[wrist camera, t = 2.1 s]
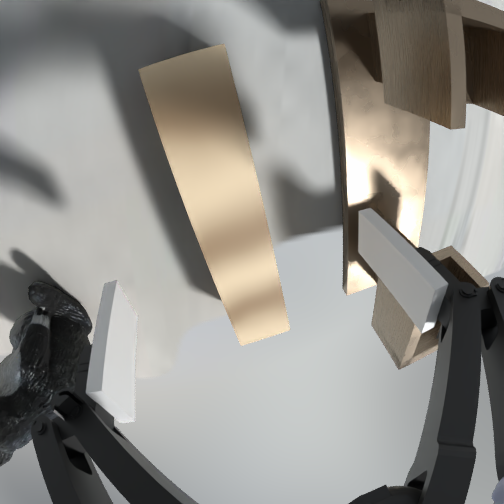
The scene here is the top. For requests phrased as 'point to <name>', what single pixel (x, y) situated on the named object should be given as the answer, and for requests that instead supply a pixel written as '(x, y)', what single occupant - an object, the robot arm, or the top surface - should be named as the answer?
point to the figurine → (39, 363)
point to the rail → (218, 184)
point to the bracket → (404, 125)
